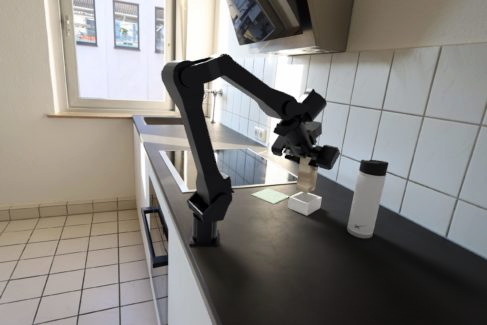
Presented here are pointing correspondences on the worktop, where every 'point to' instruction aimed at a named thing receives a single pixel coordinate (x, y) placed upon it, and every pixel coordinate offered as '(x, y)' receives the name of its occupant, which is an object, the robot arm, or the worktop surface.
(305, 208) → the holder box
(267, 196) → the mat
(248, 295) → the worktop surface
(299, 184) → the tall tan tower
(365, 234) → the travel mug
